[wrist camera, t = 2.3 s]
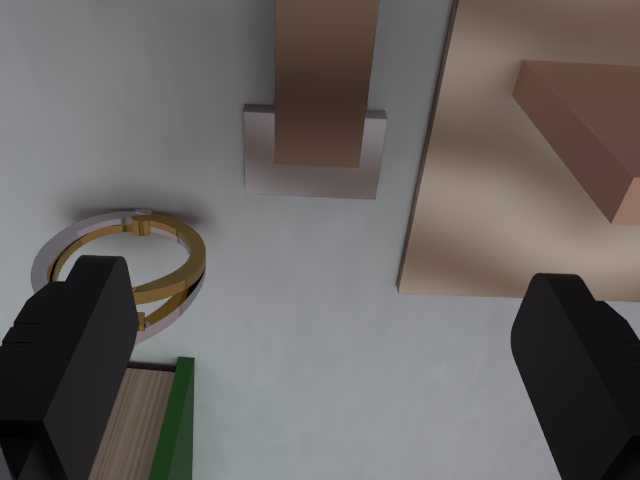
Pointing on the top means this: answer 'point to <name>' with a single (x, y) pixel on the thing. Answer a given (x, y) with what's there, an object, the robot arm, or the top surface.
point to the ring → (175, 284)
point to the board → (514, 160)
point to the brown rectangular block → (318, 105)
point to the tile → (590, 127)
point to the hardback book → (149, 427)
